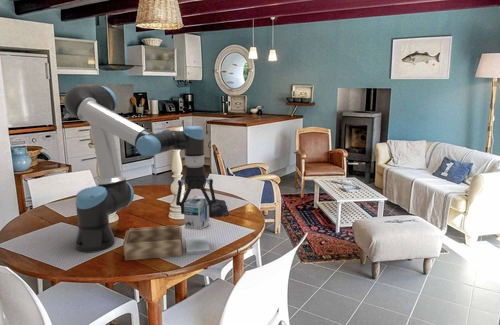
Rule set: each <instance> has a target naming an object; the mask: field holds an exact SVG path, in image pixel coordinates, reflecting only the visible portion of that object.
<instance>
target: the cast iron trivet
mask: <svg viewBox="0 0 500 325" xmlns="http://www.w3.org/2000/svg"><path fill="white" fill-rule="evenodd" d="M215 199H216V203H213V204H212V211H211V212H209V218H210V217H211V218H220V217H227V216H229V213H230V212H229V210H228V209H229V208H228V206H227V204H226V201H225V200H223V199H218V198H215Z"/></svg>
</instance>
